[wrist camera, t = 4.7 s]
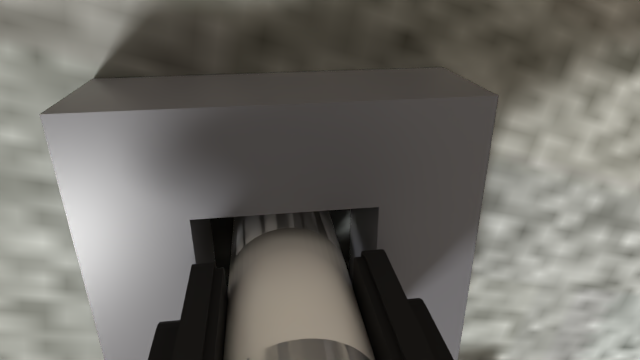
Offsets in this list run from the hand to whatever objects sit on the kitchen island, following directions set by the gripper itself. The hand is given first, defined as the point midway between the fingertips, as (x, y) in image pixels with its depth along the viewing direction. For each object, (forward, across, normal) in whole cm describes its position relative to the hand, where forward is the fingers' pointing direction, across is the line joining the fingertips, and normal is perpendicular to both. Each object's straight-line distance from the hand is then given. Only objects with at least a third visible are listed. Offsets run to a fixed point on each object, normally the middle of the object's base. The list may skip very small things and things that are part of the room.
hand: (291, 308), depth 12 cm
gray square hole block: (+4, 0, 0) cm, 4 cm away
